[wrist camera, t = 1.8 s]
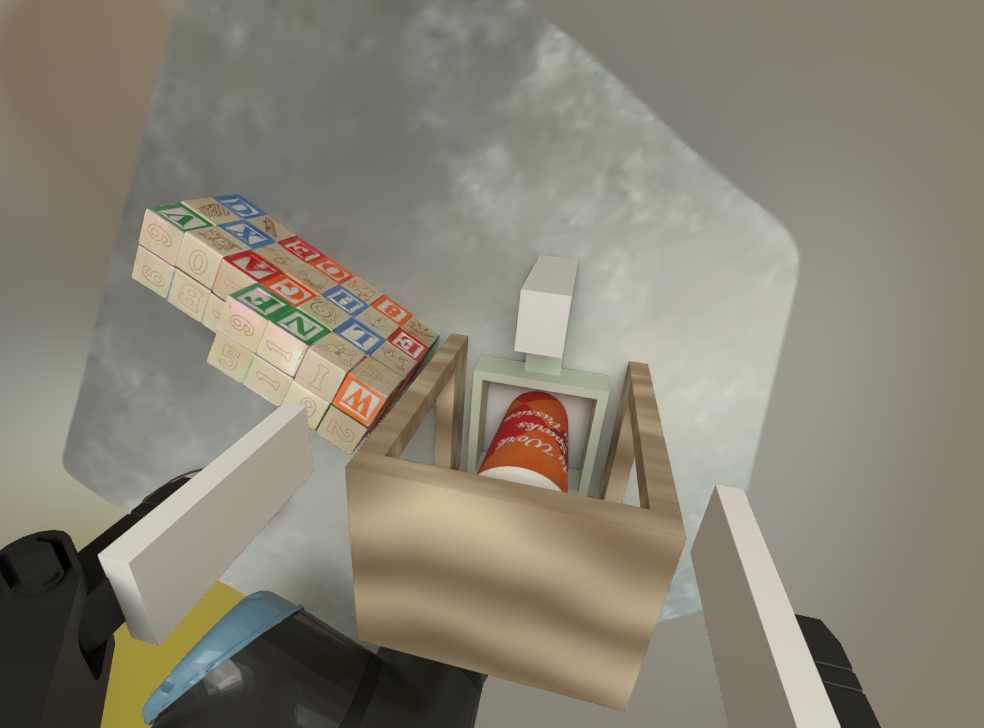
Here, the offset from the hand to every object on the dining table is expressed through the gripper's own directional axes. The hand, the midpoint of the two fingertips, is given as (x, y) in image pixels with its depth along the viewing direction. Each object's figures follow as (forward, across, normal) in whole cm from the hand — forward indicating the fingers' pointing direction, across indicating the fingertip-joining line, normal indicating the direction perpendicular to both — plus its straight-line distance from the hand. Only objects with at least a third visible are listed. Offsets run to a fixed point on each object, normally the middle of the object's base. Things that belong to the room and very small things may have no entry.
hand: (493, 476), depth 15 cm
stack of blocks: (+26, +20, +4) cm, 33 cm away
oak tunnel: (+25, 0, +13) cm, 28 cm away
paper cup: (+25, 0, +13) cm, 29 cm away
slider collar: (+25, 0, +8) cm, 26 cm away
